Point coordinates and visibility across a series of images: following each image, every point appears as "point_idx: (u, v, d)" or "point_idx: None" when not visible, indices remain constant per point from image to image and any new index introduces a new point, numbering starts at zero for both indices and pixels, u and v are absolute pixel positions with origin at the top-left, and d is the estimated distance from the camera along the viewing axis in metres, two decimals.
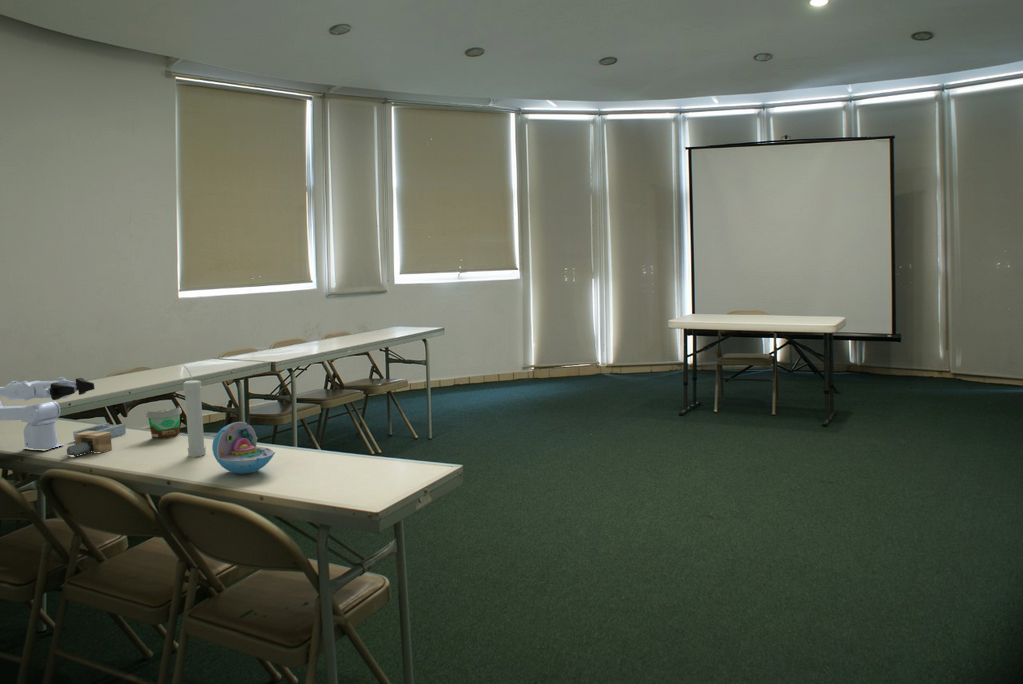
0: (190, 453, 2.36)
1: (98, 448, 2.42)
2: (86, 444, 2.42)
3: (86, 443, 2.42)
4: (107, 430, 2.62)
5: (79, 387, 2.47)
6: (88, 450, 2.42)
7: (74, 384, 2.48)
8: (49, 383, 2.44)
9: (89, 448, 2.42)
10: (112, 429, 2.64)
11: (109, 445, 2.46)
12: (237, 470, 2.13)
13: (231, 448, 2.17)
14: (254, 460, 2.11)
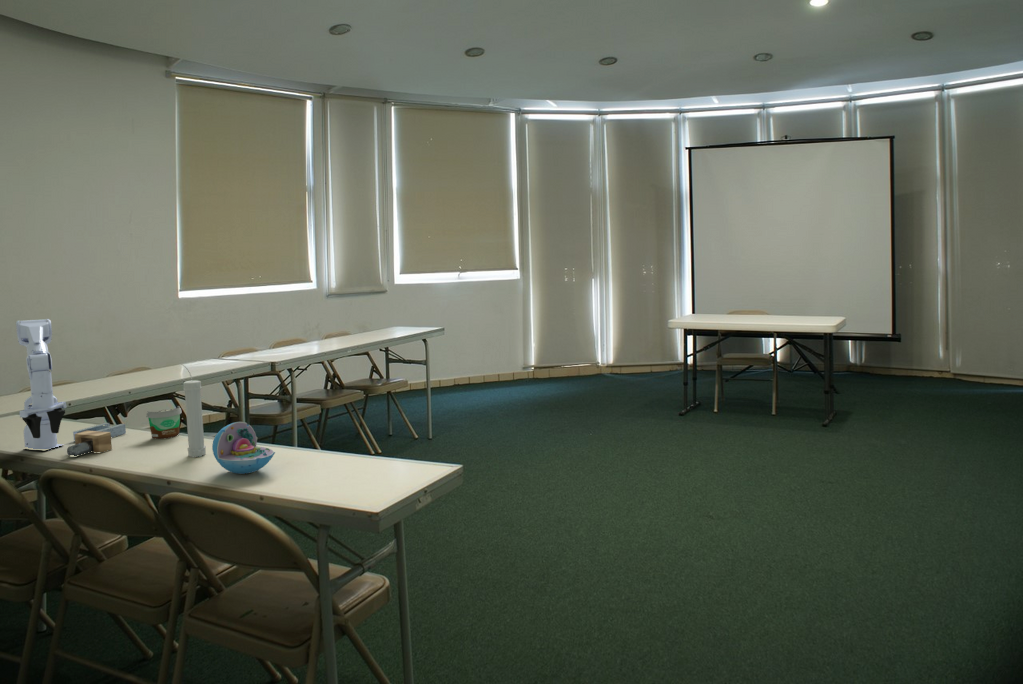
0: (190, 453, 2.36)
1: (98, 448, 2.42)
2: (87, 444, 2.42)
3: (87, 443, 2.42)
4: (107, 430, 2.62)
5: (52, 414, 2.31)
6: (88, 450, 2.42)
7: None
8: (43, 397, 2.25)
9: (89, 449, 2.42)
10: (112, 429, 2.64)
11: (109, 445, 2.46)
12: (237, 470, 2.13)
13: (231, 448, 2.17)
14: (254, 460, 2.11)
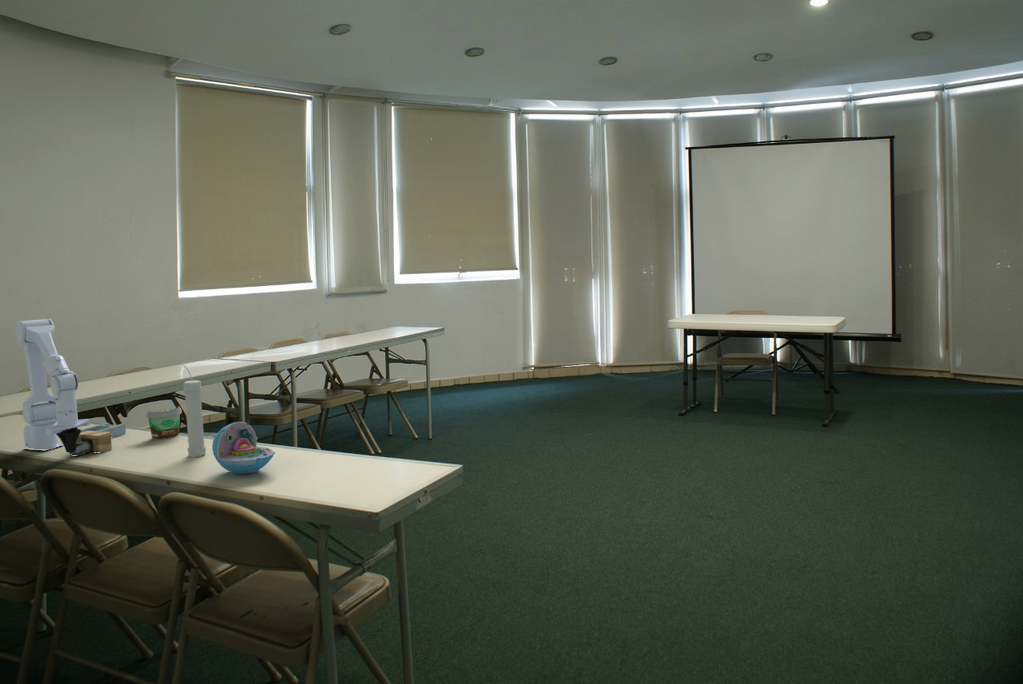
0: (190, 453, 2.36)
1: (98, 448, 2.42)
2: (88, 442, 2.43)
3: (87, 442, 2.43)
4: (107, 430, 2.62)
5: None
6: (90, 449, 2.43)
7: None
8: (67, 415, 2.34)
9: (91, 447, 2.43)
10: (112, 429, 2.64)
11: (109, 445, 2.46)
12: (237, 470, 2.13)
13: (231, 448, 2.17)
14: (254, 460, 2.11)
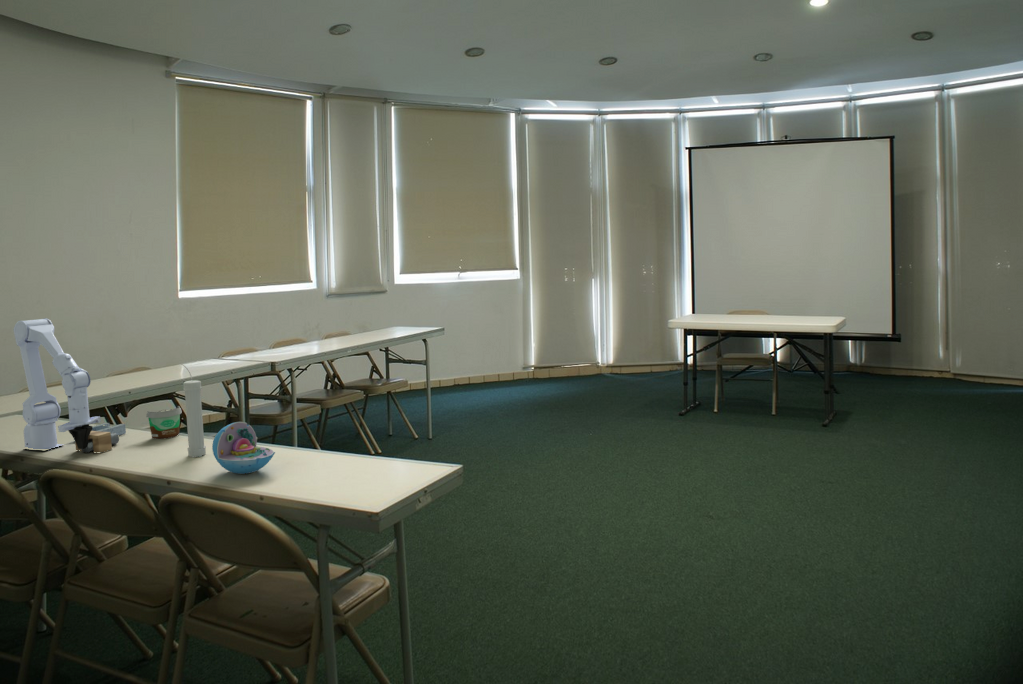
0: (190, 453, 2.36)
1: (98, 448, 2.42)
2: None
3: None
4: (107, 430, 2.62)
5: None
6: None
7: None
8: (79, 412, 2.38)
9: None
10: (112, 429, 2.64)
11: (109, 445, 2.46)
12: (237, 470, 2.13)
13: (231, 448, 2.17)
14: (254, 460, 2.11)
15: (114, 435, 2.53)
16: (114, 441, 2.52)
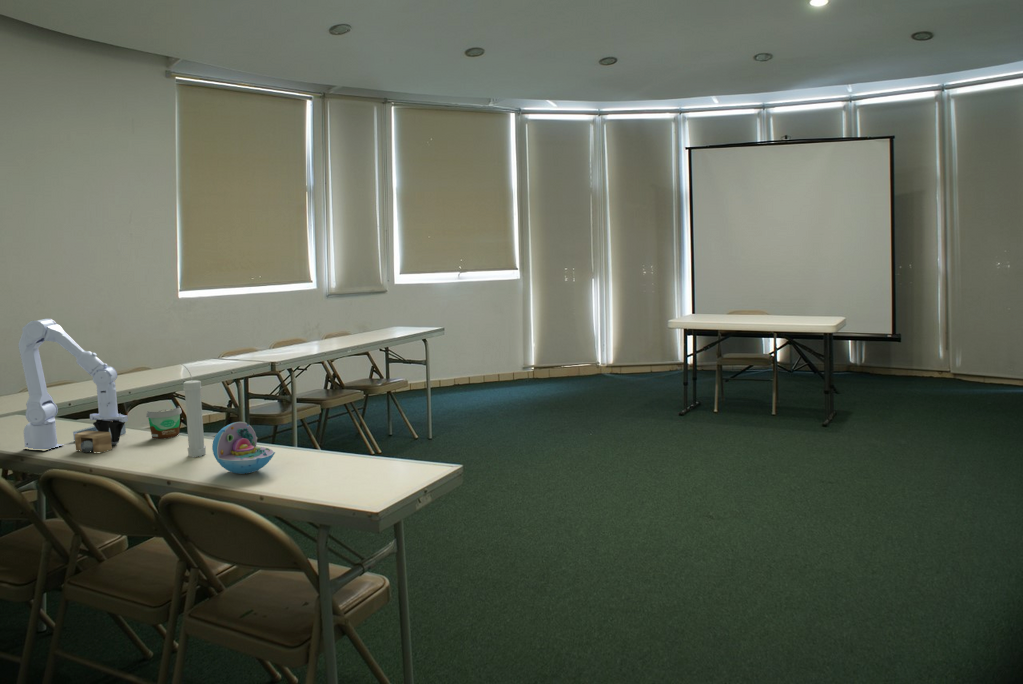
0: (190, 453, 2.36)
1: (98, 448, 2.42)
2: None
3: None
4: None
5: None
6: None
7: None
8: (98, 406, 2.49)
9: None
10: None
11: (109, 445, 2.46)
12: (237, 470, 2.13)
13: (231, 448, 2.17)
14: (254, 460, 2.11)
15: None
16: (114, 442, 2.52)
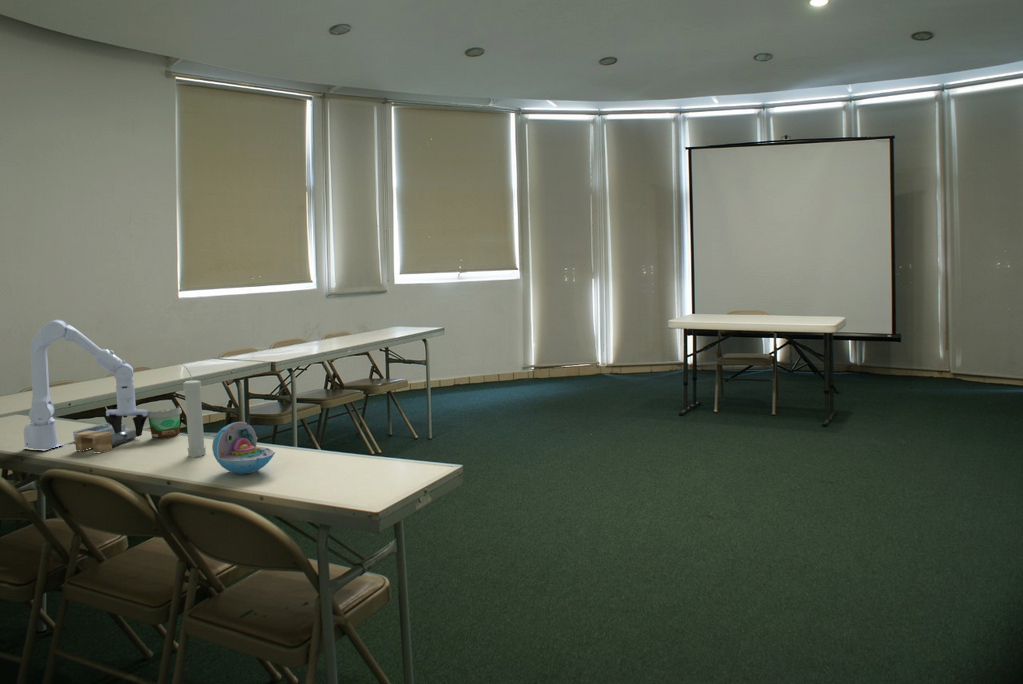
0: (190, 453, 2.36)
1: (98, 448, 2.42)
2: (121, 435, 2.54)
3: (120, 434, 2.54)
4: (107, 430, 2.62)
5: None
6: (122, 441, 2.54)
7: None
8: (117, 402, 2.57)
9: (123, 439, 2.54)
10: (112, 429, 2.64)
11: (109, 445, 2.46)
12: (237, 470, 2.13)
13: (231, 448, 2.17)
14: (254, 460, 2.11)
15: (133, 431, 2.60)
16: (133, 437, 2.59)
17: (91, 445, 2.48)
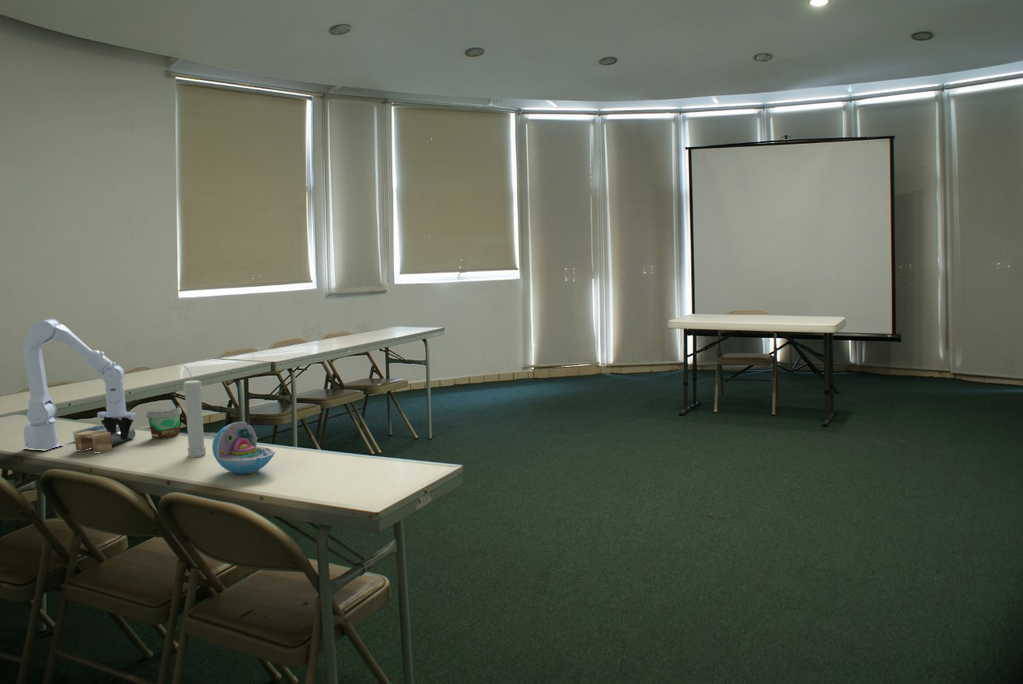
0: (190, 453, 2.36)
1: (98, 448, 2.42)
2: (117, 433, 2.54)
3: (117, 432, 2.54)
4: None
5: None
6: None
7: None
8: (107, 404, 2.53)
9: None
10: None
11: (109, 445, 2.46)
12: (237, 470, 2.13)
13: (231, 448, 2.17)
14: (254, 460, 2.11)
15: (130, 429, 2.60)
16: (131, 434, 2.59)
17: (91, 445, 2.48)
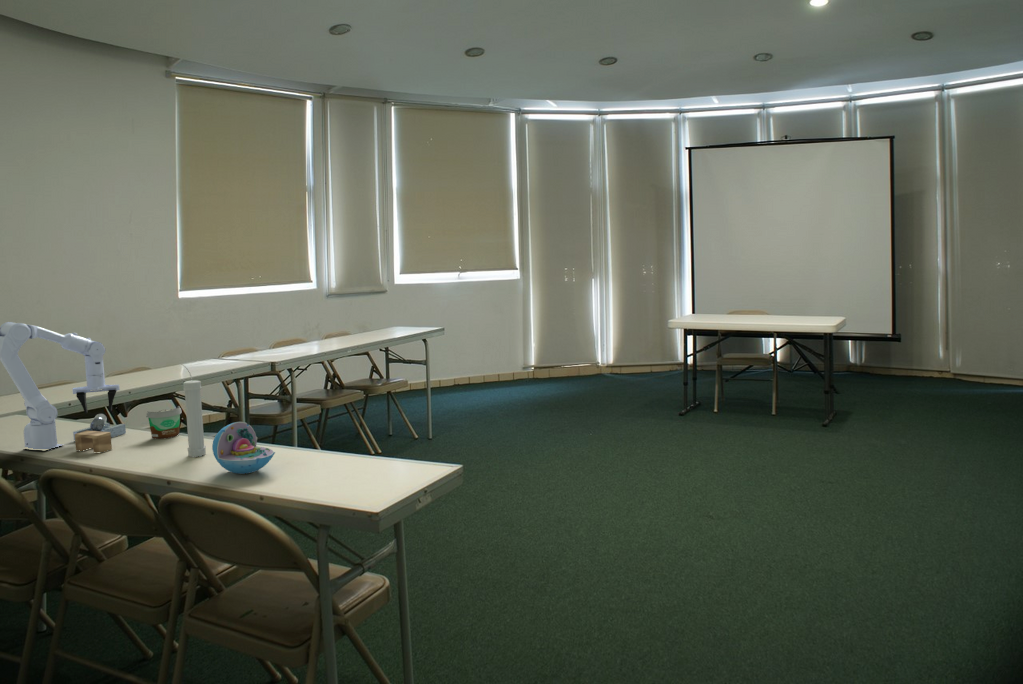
0: (190, 453, 2.36)
1: (98, 448, 2.42)
2: (99, 417, 2.62)
3: (98, 417, 2.62)
4: (107, 430, 2.62)
5: None
6: (104, 421, 2.63)
7: (109, 388, 2.63)
8: (89, 378, 2.59)
9: (104, 420, 2.63)
10: (112, 429, 2.64)
11: (109, 445, 2.46)
12: (237, 470, 2.13)
13: (231, 448, 2.17)
14: (254, 460, 2.11)
15: (102, 414, 2.68)
16: (106, 418, 2.68)
17: (91, 445, 2.48)
